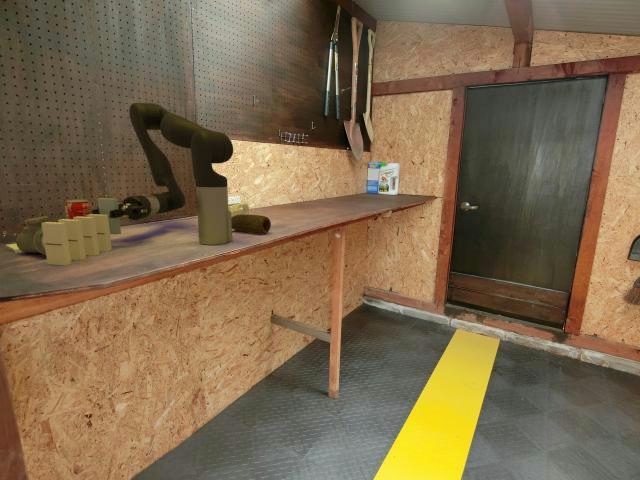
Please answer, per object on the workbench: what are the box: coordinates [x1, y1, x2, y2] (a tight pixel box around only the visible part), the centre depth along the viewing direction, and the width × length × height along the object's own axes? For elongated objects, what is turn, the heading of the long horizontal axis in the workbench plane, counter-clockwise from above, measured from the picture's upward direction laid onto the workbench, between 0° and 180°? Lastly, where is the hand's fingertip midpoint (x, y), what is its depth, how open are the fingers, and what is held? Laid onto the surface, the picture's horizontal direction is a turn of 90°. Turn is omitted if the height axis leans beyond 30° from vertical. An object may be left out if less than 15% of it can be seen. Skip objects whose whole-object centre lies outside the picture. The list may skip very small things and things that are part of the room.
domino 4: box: [97, 197, 122, 235], centre depth 102 cm, size 2×5×10 cm, turn 80°
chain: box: [228, 202, 250, 218], centre depth 152 cm, size 30×6×6 cm, turn 159°
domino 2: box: [57, 218, 87, 261], centre depth 90 cm, size 2×5×10 cm, turn 81°
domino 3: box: [73, 217, 100, 257], centre depth 94 cm, size 2×5×10 cm, turn 81°
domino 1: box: [41, 221, 72, 266], centre depth 85 cm, size 2×5×10 cm, turn 81°
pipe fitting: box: [15, 215, 50, 256], centre depth 94 cm, size 12×8×10 cm
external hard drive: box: [5, 243, 24, 254], centre depth 103 cm, size 2×8×12 cm
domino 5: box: [87, 214, 113, 253], centre depth 98 cm, size 2×5×10 cm, turn 81°
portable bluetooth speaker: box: [231, 214, 272, 235], centre depth 128 cm, size 15×7×7 cm, turn 66°
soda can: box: [64, 199, 93, 219], centre depth 113 cm, size 7×7×12 cm
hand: (102, 214), depth 99 cm, fingers closed on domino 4, 5 cm apart
